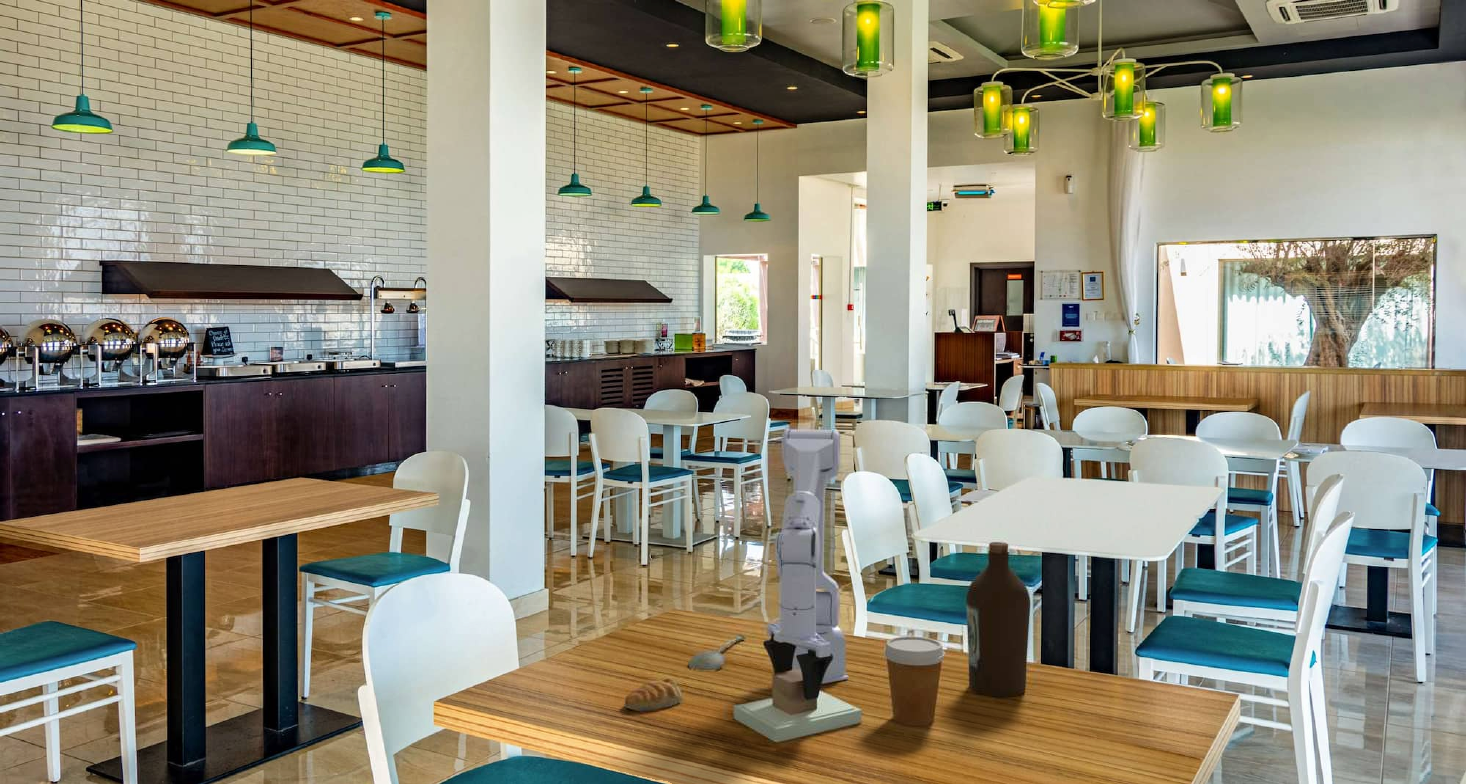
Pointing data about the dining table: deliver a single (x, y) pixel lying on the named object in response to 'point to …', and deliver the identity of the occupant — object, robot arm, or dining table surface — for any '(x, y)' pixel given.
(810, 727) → the serving board
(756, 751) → the dining table surface
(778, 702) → the walnut block
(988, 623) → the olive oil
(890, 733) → the dining table surface
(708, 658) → the soupspoon
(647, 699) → the pastry
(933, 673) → the disposable coffee cup
